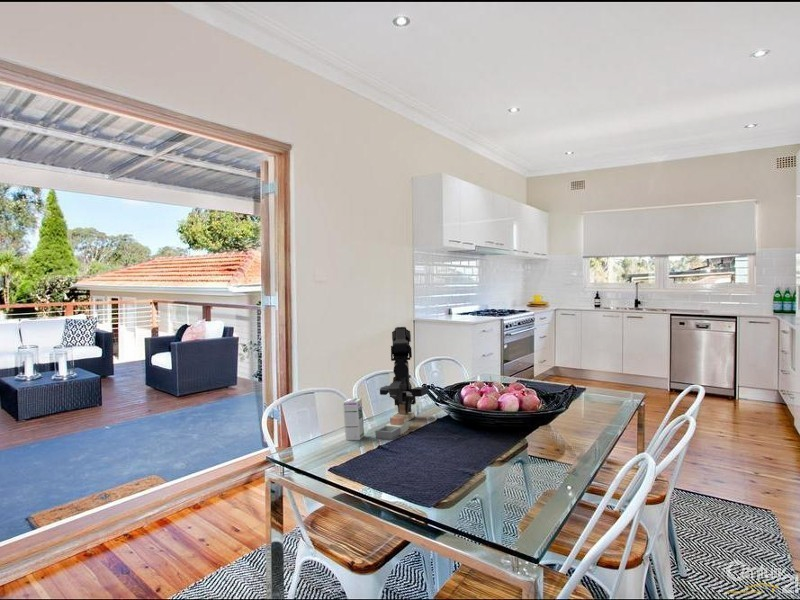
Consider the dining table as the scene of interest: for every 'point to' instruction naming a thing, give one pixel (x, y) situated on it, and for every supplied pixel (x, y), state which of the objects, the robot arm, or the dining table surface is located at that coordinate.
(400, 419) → the tile
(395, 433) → the tray
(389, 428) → the deck
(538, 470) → the dining table surface
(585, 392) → the dining table surface
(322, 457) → the dining table surface
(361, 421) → the syrup box
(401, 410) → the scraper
